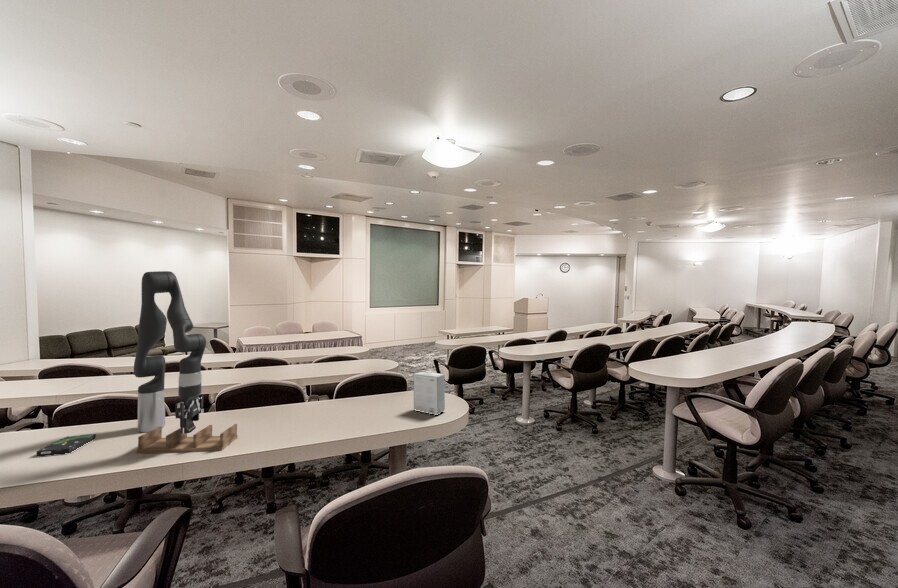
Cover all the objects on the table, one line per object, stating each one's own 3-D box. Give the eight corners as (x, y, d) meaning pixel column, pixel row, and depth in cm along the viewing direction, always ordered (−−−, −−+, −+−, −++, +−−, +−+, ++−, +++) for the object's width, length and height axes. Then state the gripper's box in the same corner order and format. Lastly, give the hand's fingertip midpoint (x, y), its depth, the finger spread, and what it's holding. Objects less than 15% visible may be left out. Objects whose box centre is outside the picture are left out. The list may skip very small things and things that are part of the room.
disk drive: (70, 455, 135) (96, 439, 149) (70, 448, 135) (96, 433, 149) (35, 458, 132) (65, 442, 146) (35, 451, 132) (65, 435, 146)
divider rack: (159, 440, 147) (159, 426, 147) (237, 438, 149) (237, 423, 150) (137, 453, 135) (137, 437, 135) (222, 450, 137) (222, 434, 138)
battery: (191, 433, 139) (191, 405, 139) (180, 434, 138) (180, 405, 138) (199, 427, 146) (199, 400, 146) (188, 428, 145) (188, 400, 145)
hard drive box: (445, 412, 183) (445, 374, 183) (437, 416, 177) (437, 377, 177) (421, 407, 192) (421, 371, 192) (412, 411, 185) (413, 373, 185)
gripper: (191, 379, 149) (191, 418, 149) (167, 388, 135) (167, 431, 135) (210, 379, 150) (210, 417, 149) (188, 387, 135) (188, 430, 135)
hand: (189, 423), depth 142 cm, fingers closed on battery, 7 cm apart
